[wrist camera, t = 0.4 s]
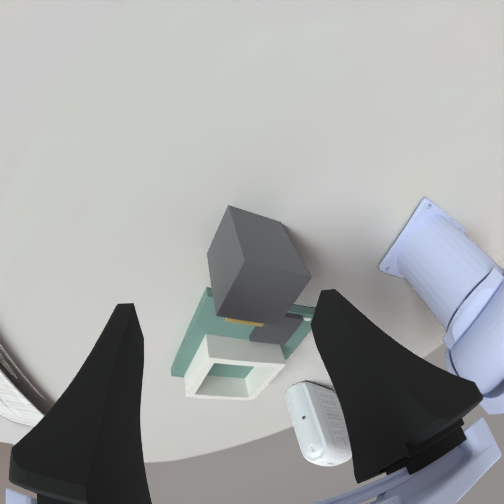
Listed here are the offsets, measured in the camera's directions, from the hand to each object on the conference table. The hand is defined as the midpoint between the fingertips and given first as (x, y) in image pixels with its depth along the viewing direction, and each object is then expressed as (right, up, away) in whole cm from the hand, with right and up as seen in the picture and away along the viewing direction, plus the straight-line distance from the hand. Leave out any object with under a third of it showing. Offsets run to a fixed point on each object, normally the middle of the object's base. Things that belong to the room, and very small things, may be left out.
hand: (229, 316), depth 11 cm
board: (0, -6, +16) cm, 17 cm away
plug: (0, +3, +10) cm, 10 cm away
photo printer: (+9, -18, +27) cm, 34 cm away
